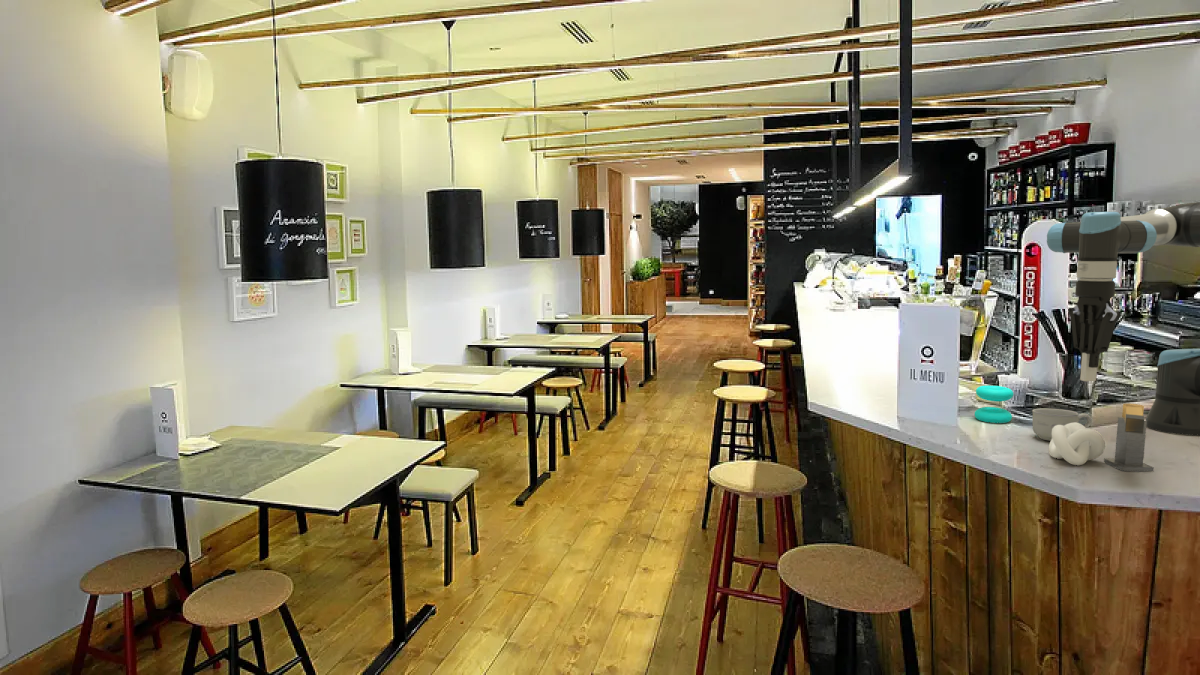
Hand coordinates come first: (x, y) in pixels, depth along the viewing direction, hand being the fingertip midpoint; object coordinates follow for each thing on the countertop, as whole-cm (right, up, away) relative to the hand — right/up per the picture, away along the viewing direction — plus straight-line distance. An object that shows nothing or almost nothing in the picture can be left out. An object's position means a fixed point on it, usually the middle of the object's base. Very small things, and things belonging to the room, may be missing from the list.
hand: (1087, 380), depth 172 cm
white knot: (+1, -21, +8) cm, 22 cm away
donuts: (+4, -15, +50) cm, 52 cm away
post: (+12, -21, +3) cm, 24 cm away
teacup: (+11, -18, +27) cm, 34 cm away
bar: (+8, -10, -4) cm, 13 cm away
